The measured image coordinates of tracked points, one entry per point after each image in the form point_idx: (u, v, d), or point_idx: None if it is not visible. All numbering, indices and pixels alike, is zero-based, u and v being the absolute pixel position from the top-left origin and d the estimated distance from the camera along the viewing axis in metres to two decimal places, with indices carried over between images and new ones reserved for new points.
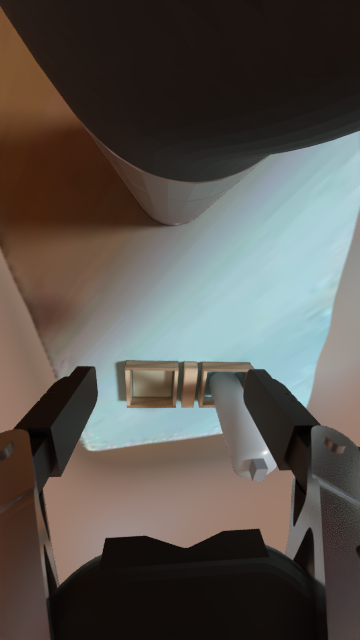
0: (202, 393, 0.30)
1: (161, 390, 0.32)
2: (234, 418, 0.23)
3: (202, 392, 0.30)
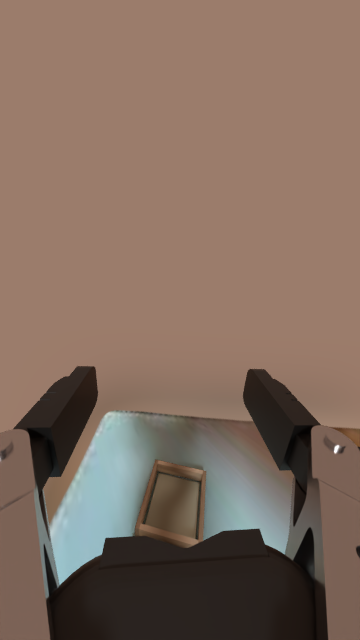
0: None
1: (158, 513, 0.25)
2: None
3: None
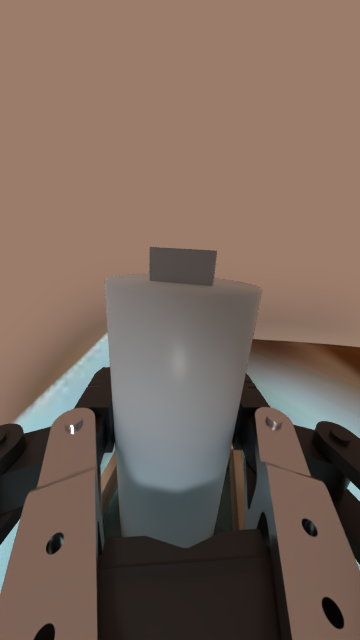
0: None
1: None
2: None
3: None
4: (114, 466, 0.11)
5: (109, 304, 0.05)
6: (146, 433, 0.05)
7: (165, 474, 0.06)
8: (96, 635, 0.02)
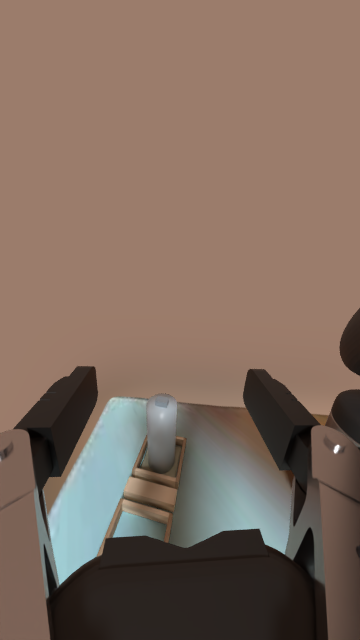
0: (139, 505, 0.27)
1: None
2: None
3: (141, 506, 0.27)
4: (111, 529, 0.25)
5: (148, 413, 0.29)
6: (154, 435, 0.30)
7: (158, 443, 0.30)
8: None
